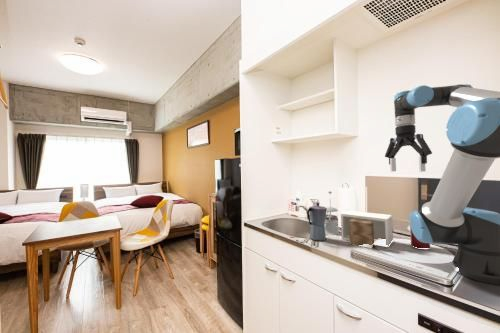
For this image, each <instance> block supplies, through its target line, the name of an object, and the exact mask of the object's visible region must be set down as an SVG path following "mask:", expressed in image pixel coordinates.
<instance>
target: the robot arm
mask: <svg viewBox="0 0 500 333" xmlns="http://www.w3.org/2000/svg"><path fill="white" fill-rule="evenodd" d="M393 98H394V100H393V105H394V121H395V122H394V124H395V135H396V137H391V138H390V139H389V144H388V147H387V149H386V152H385V155H384V157H385V158H387V159H388V165H390V166H389V168H390V170H389V171H390V172H397V161H396V155H398V152H400V150H401V148H403V147H406V146H407V147H409V146H410V147H412V149H413V150H415V151H416V153H418V154H419V156H418V170H419V171H418V172H426V164H427V163H428V156H430V155H432V154H433V151H432V150H431V148H430V147H429V145H428V144H427V142H426V140H425V138H424V134H422V133H416V125H415V124H416V112H415V111H416V109H418V108H425V107H426V108H427V107H438V106H439V107H440V106H451V107H454V108H455V110H453V112H452V113H451V115H450V116H449V118H448V120H447V123H446V129H447V130H446V132H445V133H446V137H447V139H448V141H449V142H450V146H451V147H452V148H453V149H454V150H453V152H452V154H451V156H450V158H449V161H448V163H447V164H446V167H445V169H444V170H443V173H442V176H441V178H440V180H439V183H438V185H437V187H436V189H435V191H434V193H433V195H432V197H431V200H430V201H428V202H425V203H423V204H422V206H421V208H420V210H413V211H411V212H410V214H409V219H408V220H409V227H410V226H411V229H412V232H413V234H414V236H415V237H416V238H417V240H419V241H420V242H422V243H430V245H435V244H436V245H437V244H438V245H440V244H441V245H457V250H456V252H455V254H454V256H453V259H452V260H451V261H452V264H453V265H454V266H455V267H458V268H459V272H460V274H459V275H461V276H464V277H466V278H469V279H471V280H474V281H479V282H482V283H487V284H493V285H500V213H499V212H496V211H491V210H487V209H482V208H474V207H469V206H468V204H469V203H470V200H471V199H472V197H473V196H474V194H475V193H476V191H477V190H478V188H479V186H480V184H481V183H482V181H483V179H484V178H485V177H486V174H487V173H488V171H489V170H490V168H491V166H492V165H493V164H494V162H495V160H496V159H500V91H497V90H489V89H485V88H484V89H482V88H475V87H473V85H471V84H464V83H463V84H454V85H446V86H445V85H444V86H434V87H431V86H428V85H425V84H424V85H418V86H417V87H415V88H413V89H411V90H404V91H400V92H397V93H396V94H395V95H394V97H393ZM415 140H416V141H415ZM467 206H468V207H467ZM452 264H451V265H452Z"/></svg>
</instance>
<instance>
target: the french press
mask: <svg viewBox="0 0 500 333" xmlns="http://www.w3.org/2000/svg"><path fill="white" fill-rule="evenodd" d="M328 194H332V191H328ZM331 201H332V200H329V203H330V204H329V207H328V206H327V207H326V208H327V211H326V219H325V225H324V227H325V235H330V236H335V235H336V236H337V235H340V234H341V231H339V219H338V215H335V214H334V215H333V214H329V213H335V212H338V211H339V210H338V209H337V207H332V206H331V204H332V203H331Z"/></svg>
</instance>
